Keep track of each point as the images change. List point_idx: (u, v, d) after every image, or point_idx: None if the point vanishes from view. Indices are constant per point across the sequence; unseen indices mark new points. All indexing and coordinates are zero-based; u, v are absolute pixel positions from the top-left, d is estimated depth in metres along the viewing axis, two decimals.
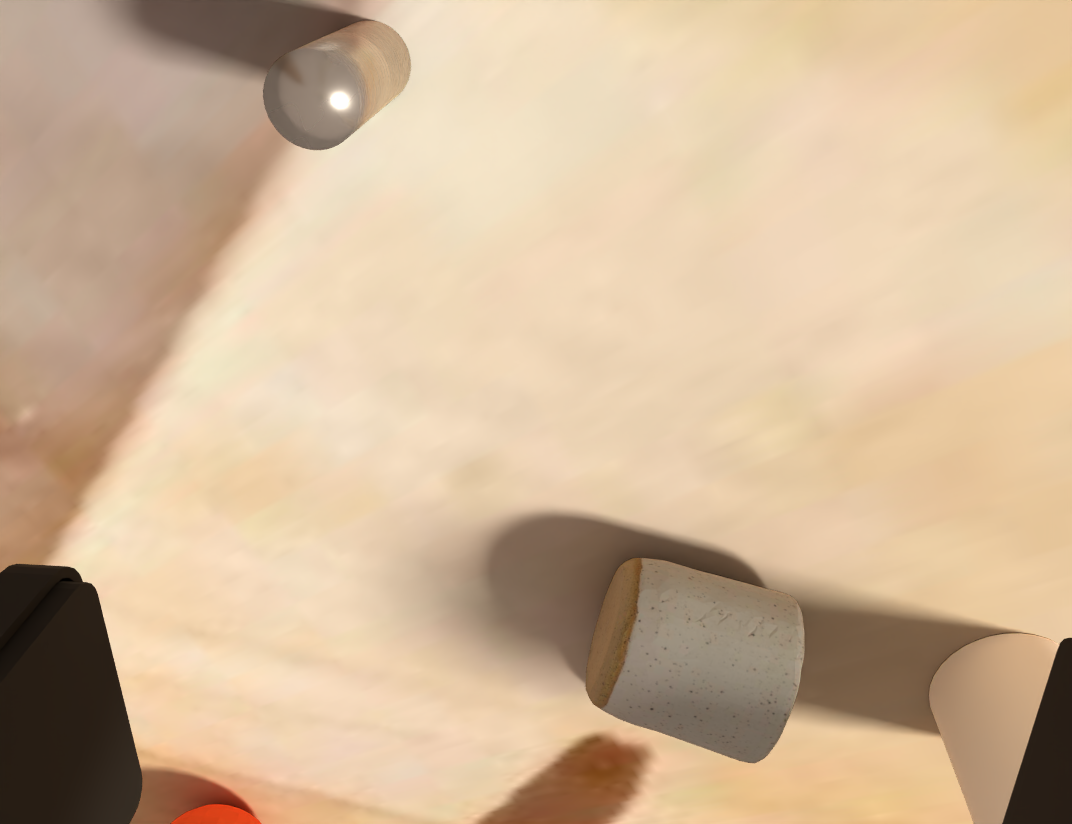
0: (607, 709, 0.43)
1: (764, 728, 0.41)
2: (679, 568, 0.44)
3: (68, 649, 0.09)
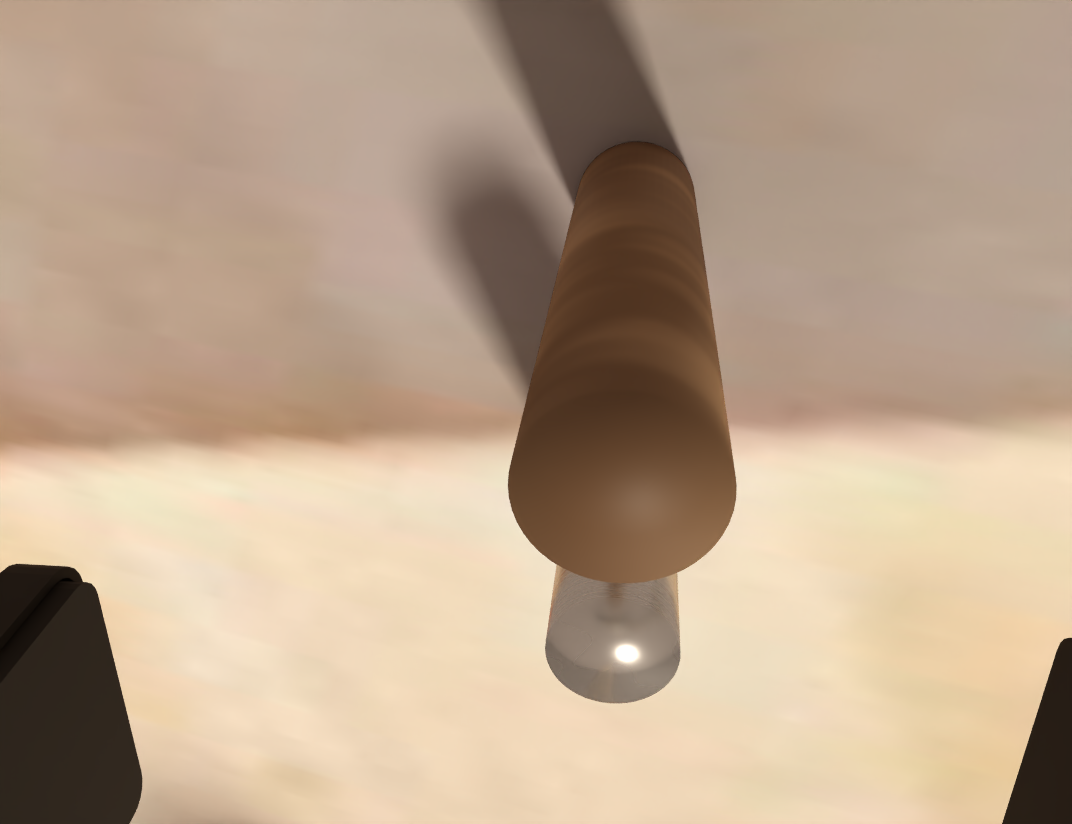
0: None
1: None
2: None
3: (68, 649, 0.09)
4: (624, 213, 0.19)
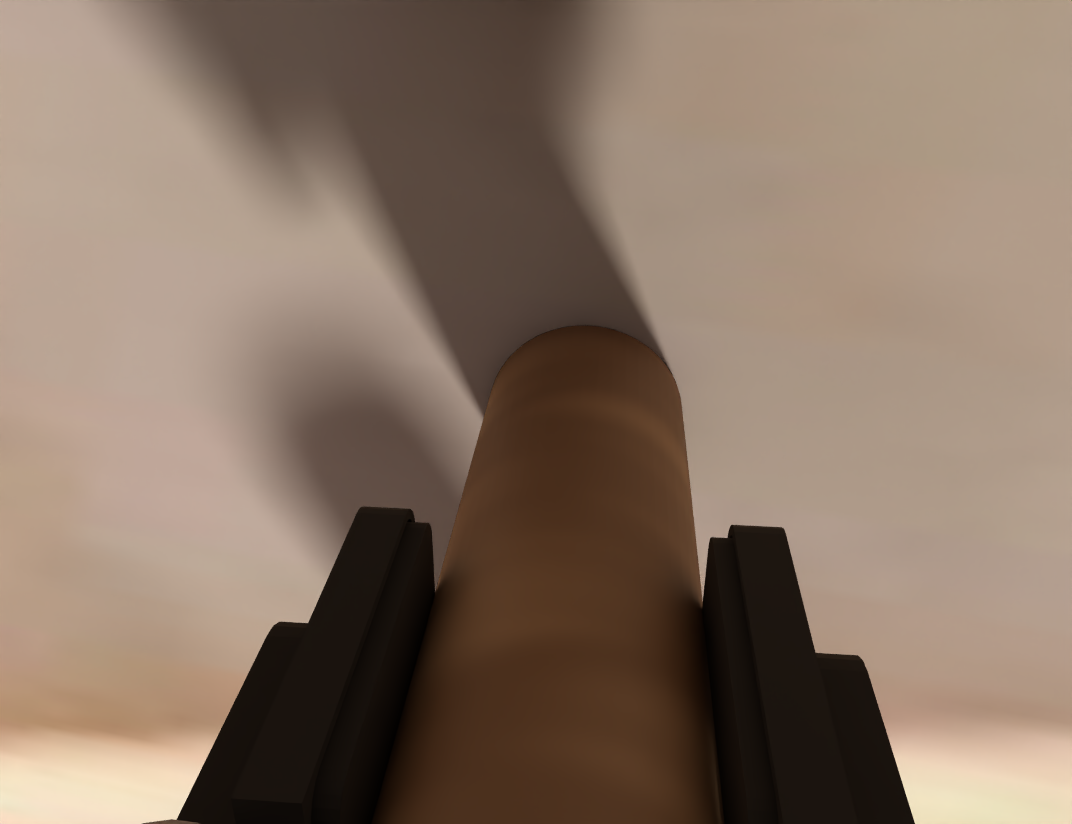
0: None
1: None
2: None
3: (421, 582, 0.10)
4: (541, 586, 0.09)
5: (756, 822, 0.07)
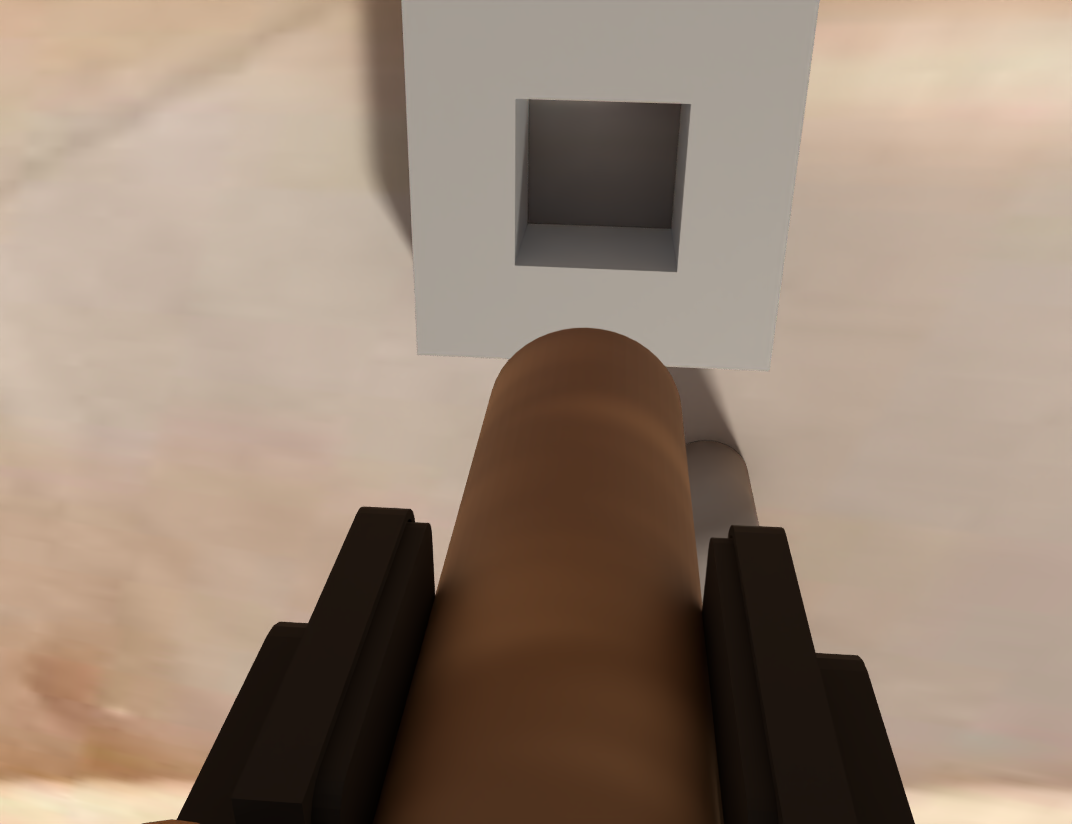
0: None
1: None
2: None
3: (421, 582, 0.10)
4: (541, 589, 0.09)
5: (756, 822, 0.07)
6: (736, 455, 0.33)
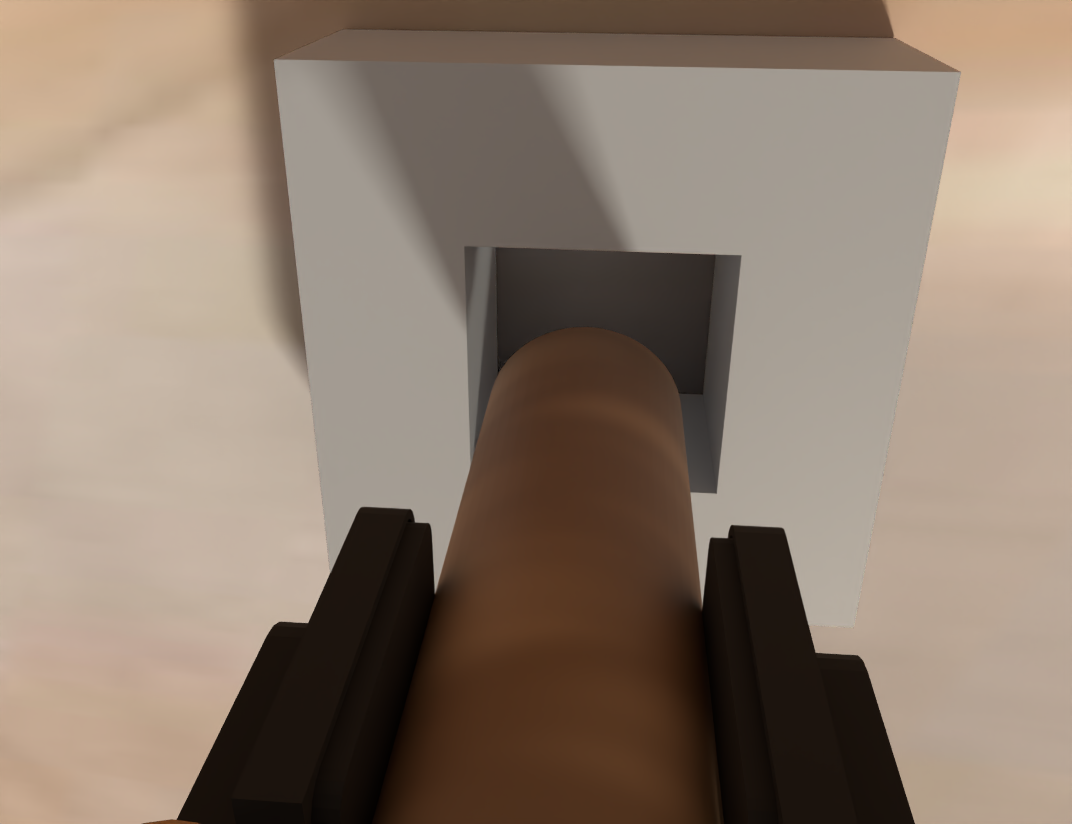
0: None
1: None
2: None
3: (421, 582, 0.10)
4: (541, 588, 0.09)
5: (756, 822, 0.07)
6: None
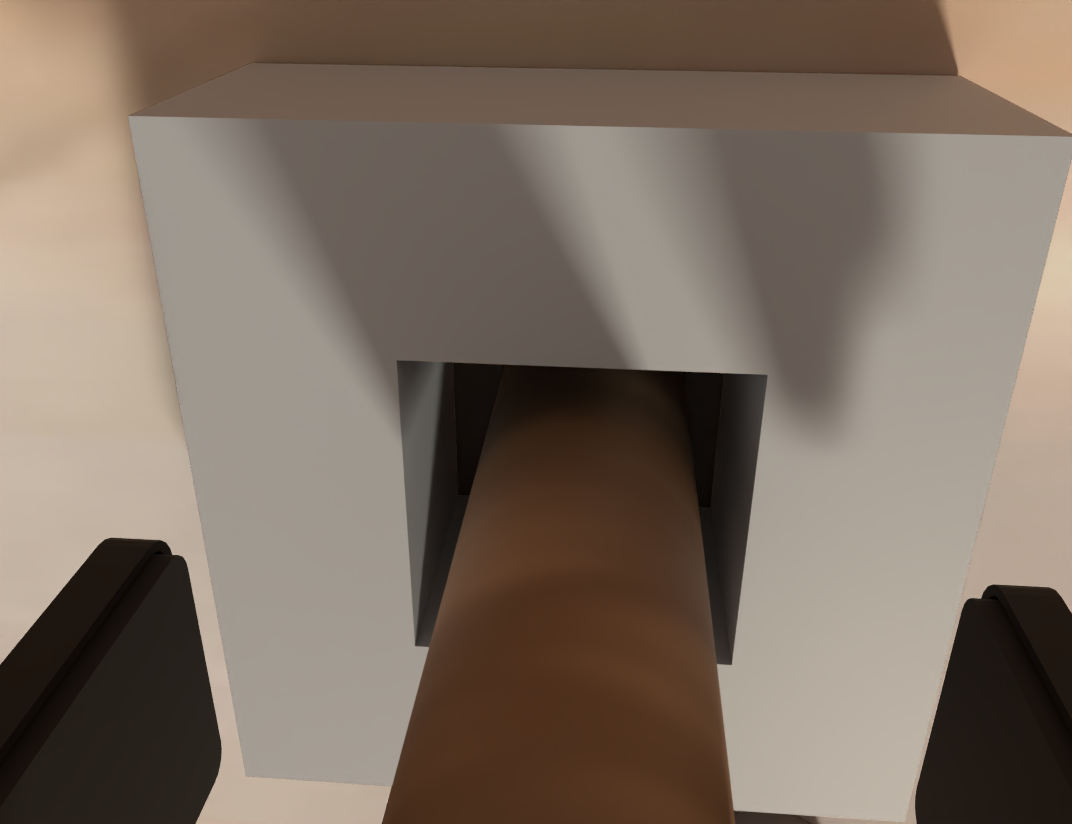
0: None
1: None
2: None
3: (163, 619, 0.09)
4: (556, 529, 0.10)
5: None
6: None
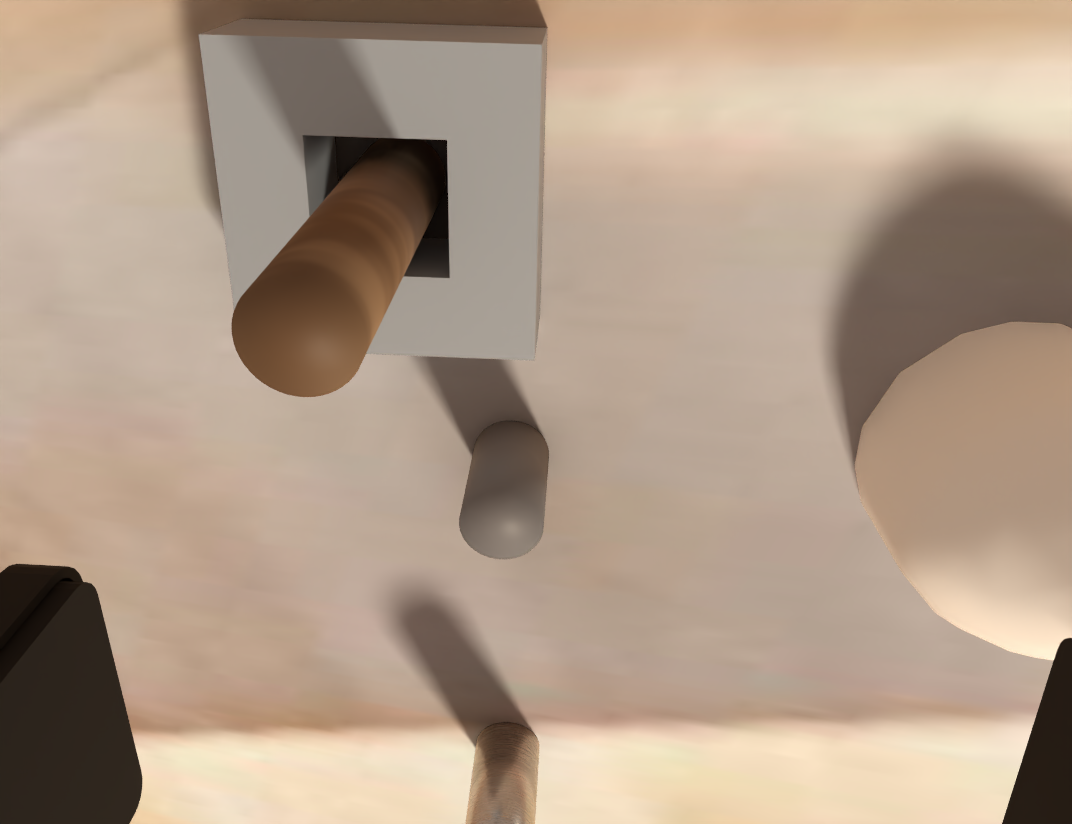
0: None
1: None
2: None
3: (68, 649, 0.09)
4: (356, 181, 0.28)
5: None
6: (536, 432, 0.39)
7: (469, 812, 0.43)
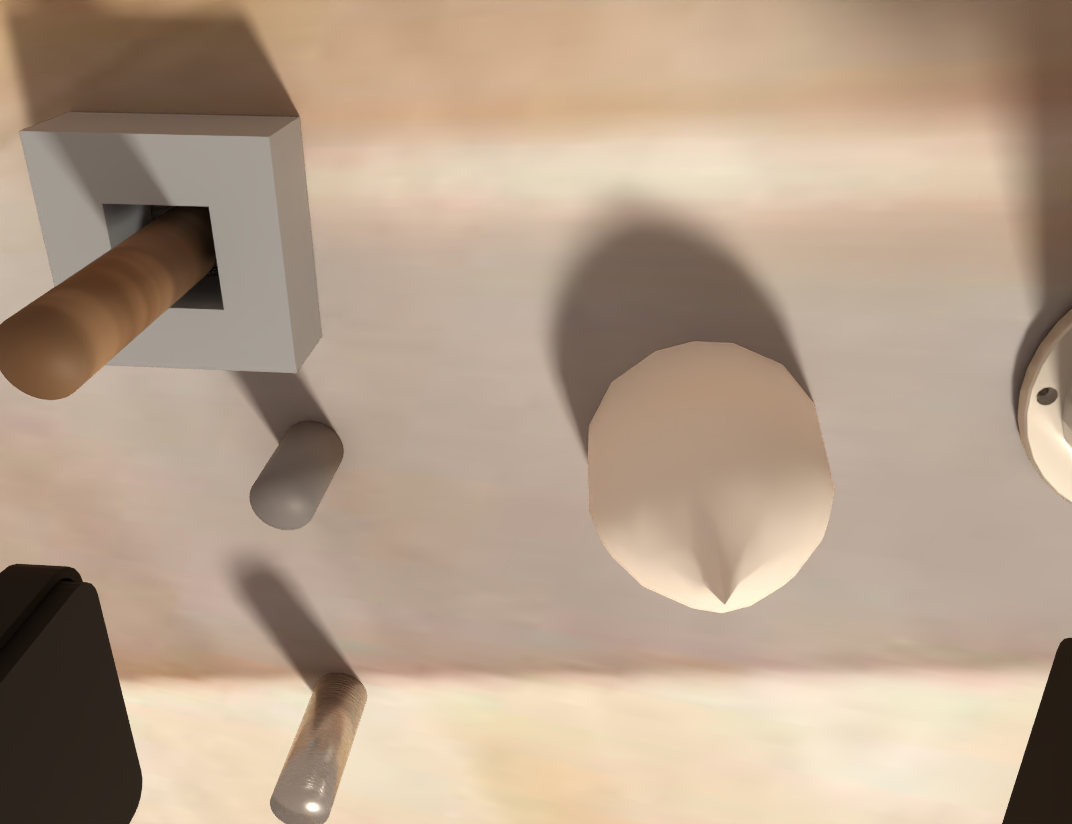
0: None
1: None
2: None
3: (68, 649, 0.09)
4: (130, 240, 0.38)
5: None
6: (329, 430, 0.48)
7: (293, 742, 0.52)
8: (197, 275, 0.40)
